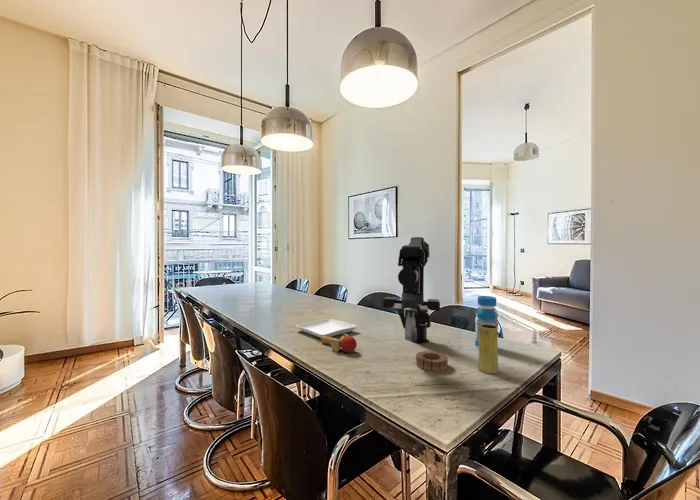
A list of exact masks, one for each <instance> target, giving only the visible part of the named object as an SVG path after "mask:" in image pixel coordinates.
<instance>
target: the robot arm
mask: <svg viewBox="0 0 700 500" xmlns="http://www.w3.org/2000/svg"><path fill="white" fill-rule="evenodd" d="M429 258H430V245H429V244H428V242H426V241H425V238H424V237H421V236H418V237H417V236H413V237H410V242H409V244H404V245H402V246H401V248H400V249H399V255H398V262H397V267H402V269H400V271H399V272H398V274H397V280H398V282H399V284H400V285H402V293H401V299H397V298H396V296H385V297H384V299H383V300H382V308H387V309H388V308H389V309H392V308H393V310H394V311H396V313H397V314H398V316H399V319H400V321H401V325H402V327H403V329H405V309H416V310H417V340H416V341H412V342H414V343H416V344H421V343H426V342H430V339H428V338H427V329H428V328H431V325H432V324H431V323H432V321H431V316H430V314H429V311H439V312H440V310H441V301H440V300H439V299H438V298H437V299H436V298H428V299H427V301H425V300H424V297H425V296H424V295H425V293H424V291H425V290H424V289H425V288H424V287H425V285H424V284H425V280H424V279H425V266H426V265H427V263H428V261H429Z"/></svg>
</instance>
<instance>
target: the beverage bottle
mask: <svg viewBox="0 0 700 500" xmlns="http://www.w3.org/2000/svg"><path fill="white" fill-rule="evenodd" d="M477 305H478V307H477V309H476V311H475V319H474V323H475V341H474V345H475V347H476V348H477V349H479V339H480V325H482V324H490V325H494V326H497V327H498V328H499V320H498V317H499V312H498V311H497V309H496V308H495V307H497V297H495V296H490V295H479V296H477ZM498 339H499V337H498V338H497V340H498ZM498 342H499V341H497V346H498V347H499V344H498Z"/></svg>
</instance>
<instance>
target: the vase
mask: <svg viewBox="0 0 700 500" xmlns="http://www.w3.org/2000/svg"><path fill="white" fill-rule="evenodd" d="M498 331H499V326H498V327H497V326H494V325H490V324H482V325H480V339H479V348H478V363H477V369H478V371H480V372H481V373H485V374H489V375H490V374H491V375H495V374H498V373H499V372H500V371H499V370H500V369H499V360H498V359H499V355H498V354H499V353H498V348H499V345H498V346H497V342H498V339H499V337H498V333H499V332H498ZM497 338H498V339H497Z"/></svg>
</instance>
